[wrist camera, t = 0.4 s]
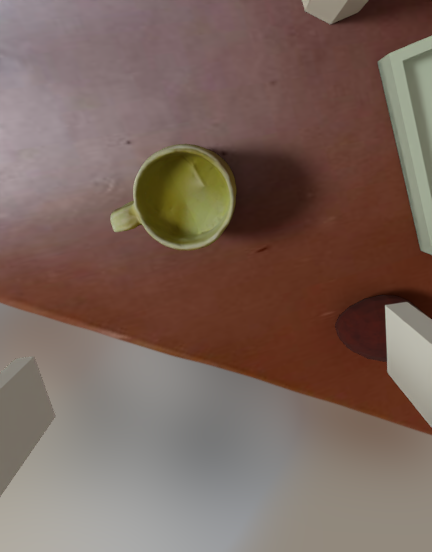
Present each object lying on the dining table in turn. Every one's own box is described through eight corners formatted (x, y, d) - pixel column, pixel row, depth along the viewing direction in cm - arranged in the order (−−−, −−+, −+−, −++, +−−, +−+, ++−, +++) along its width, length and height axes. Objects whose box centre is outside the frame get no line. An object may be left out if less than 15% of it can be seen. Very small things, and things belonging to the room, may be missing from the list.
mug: (240, 119, 34) (223, 149, 26) (250, 215, 40) (239, 263, 32) (125, 134, 37) (79, 165, 29) (150, 221, 43) (117, 267, 35)
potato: (410, 345, 43) (439, 372, 37) (326, 344, 43) (341, 371, 37) (419, 288, 41) (452, 307, 35) (331, 287, 41) (349, 306, 35)
